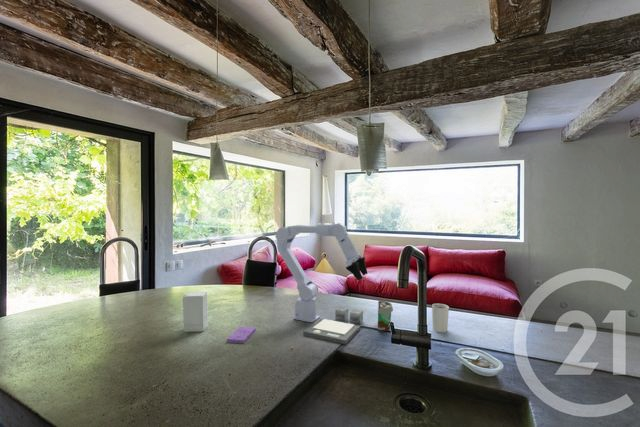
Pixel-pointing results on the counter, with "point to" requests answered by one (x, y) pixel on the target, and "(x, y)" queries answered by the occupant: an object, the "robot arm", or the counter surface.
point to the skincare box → (195, 311)
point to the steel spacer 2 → (356, 317)
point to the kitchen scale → (332, 331)
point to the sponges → (241, 334)
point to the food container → (384, 315)
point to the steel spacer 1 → (341, 314)
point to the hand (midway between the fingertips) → (362, 276)
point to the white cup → (440, 317)
